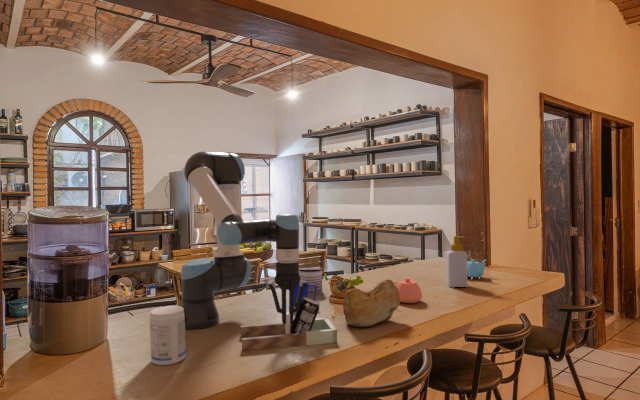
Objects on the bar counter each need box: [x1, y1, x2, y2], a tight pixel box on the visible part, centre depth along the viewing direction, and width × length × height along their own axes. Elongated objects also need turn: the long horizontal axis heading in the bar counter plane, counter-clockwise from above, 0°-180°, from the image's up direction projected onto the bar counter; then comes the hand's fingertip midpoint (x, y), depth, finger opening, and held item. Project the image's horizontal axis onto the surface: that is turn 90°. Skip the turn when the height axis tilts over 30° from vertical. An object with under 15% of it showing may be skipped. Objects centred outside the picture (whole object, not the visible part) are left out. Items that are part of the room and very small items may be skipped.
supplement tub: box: [149, 305, 187, 366], centre depth 124 cm, size 10×10×15 cm
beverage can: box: [290, 297, 320, 334], centre depth 141 cm, size 7×7×12 cm
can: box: [299, 267, 323, 296], centre depth 206 cm, size 11×11×12 cm
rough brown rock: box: [342, 279, 401, 328], centre depth 159 cm, size 23×17×15 cm
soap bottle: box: [446, 235, 468, 288], centre depth 214 cm, size 9×9×25 cm
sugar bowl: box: [393, 277, 423, 304], centre depth 186 cm, size 12×14×10 cm
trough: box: [240, 322, 308, 352], centre depth 139 cm, size 20×14×4 cm
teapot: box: [467, 259, 487, 278], centre depth 234 cm, size 13×13×10 cm
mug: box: [294, 281, 317, 307], centre depth 180 cm, size 8×12×10 cm
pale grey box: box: [306, 317, 338, 346], centre depth 142 cm, size 10×14×4 cm
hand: (287, 333), depth 139 cm, fingers closed
